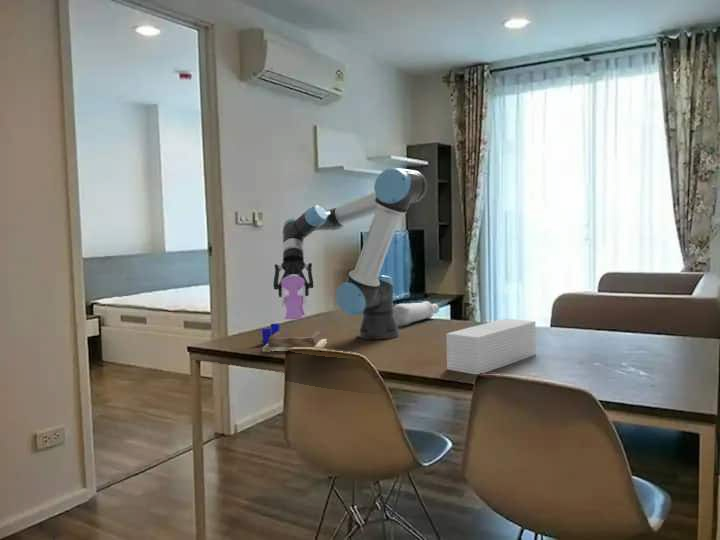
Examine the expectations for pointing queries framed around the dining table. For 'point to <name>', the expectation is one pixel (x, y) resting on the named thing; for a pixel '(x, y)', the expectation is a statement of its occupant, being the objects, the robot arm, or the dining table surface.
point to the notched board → (293, 342)
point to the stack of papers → (490, 345)
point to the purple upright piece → (293, 296)
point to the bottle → (413, 312)
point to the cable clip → (270, 332)
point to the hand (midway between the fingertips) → (293, 302)
